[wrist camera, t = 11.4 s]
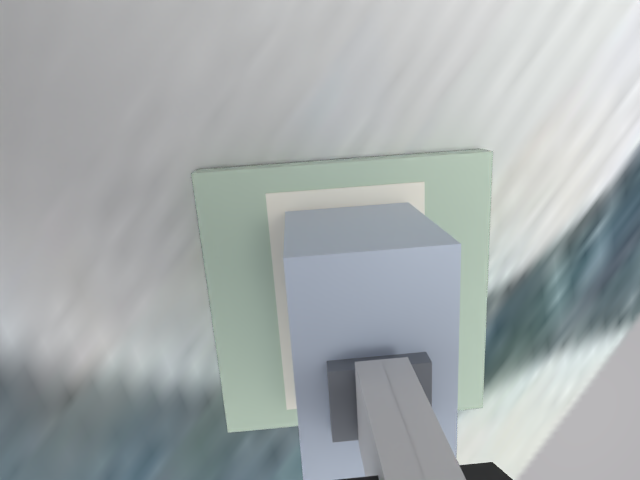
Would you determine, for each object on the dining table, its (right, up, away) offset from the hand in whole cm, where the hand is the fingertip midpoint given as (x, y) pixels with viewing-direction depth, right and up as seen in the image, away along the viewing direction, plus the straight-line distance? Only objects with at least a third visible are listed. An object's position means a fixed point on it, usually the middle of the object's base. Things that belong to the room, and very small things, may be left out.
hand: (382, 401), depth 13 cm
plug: (0, +2, +7) cm, 7 cm away
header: (-1, +2, +8) cm, 8 cm away
